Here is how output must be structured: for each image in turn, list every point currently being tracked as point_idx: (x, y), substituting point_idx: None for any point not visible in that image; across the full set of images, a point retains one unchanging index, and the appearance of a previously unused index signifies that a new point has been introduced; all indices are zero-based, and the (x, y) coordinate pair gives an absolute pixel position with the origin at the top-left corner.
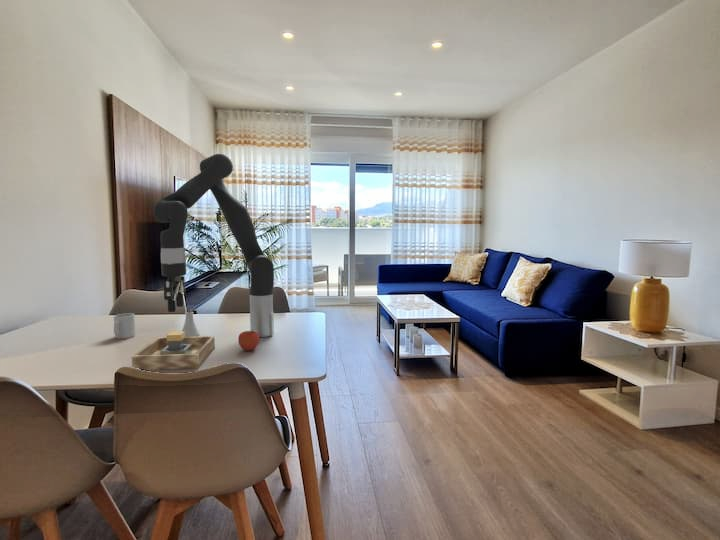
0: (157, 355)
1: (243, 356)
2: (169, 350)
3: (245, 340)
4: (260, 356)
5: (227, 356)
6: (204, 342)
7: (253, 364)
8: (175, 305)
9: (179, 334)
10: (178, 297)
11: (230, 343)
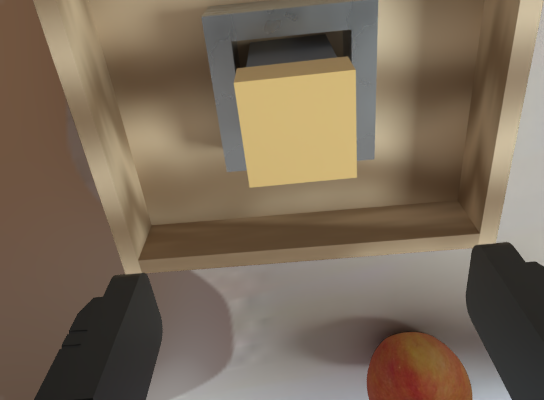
0: (65, 69)
1: (314, 342)
2: (224, 75)
3: (370, 391)
4: (312, 388)
5: (317, 291)
6: (471, 180)
7: (218, 385)
8: (143, 396)
9: (261, 174)
10: (537, 378)
11: (540, 251)
